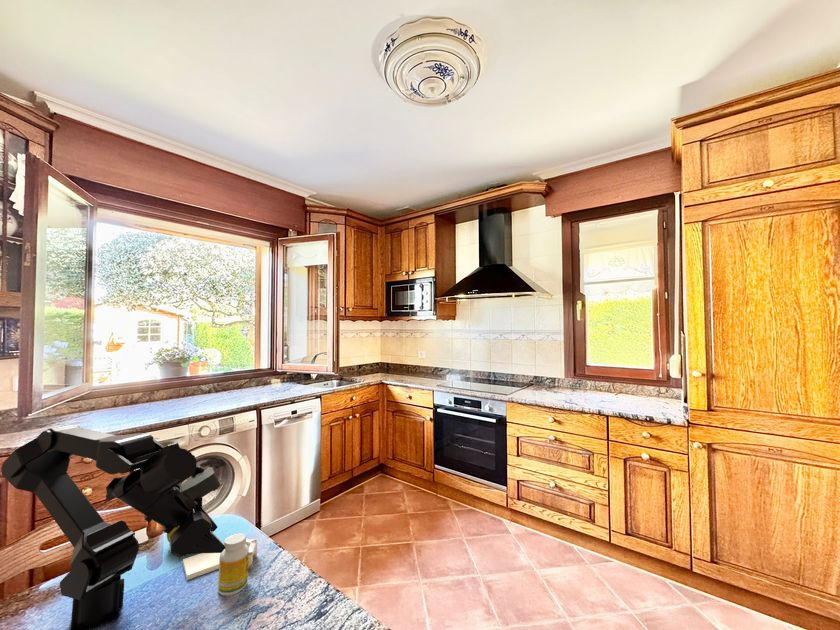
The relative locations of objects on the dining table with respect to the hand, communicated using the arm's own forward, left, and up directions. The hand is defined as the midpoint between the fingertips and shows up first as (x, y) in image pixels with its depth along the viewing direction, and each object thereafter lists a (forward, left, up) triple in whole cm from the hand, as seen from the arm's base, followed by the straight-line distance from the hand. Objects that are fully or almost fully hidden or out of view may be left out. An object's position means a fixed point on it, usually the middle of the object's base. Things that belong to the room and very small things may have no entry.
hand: (219, 538), depth 70 cm
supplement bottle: (+3, 0, -11) cm, 11 cm away
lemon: (-2, +23, -11) cm, 26 cm away
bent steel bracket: (+7, +8, -11) cm, 15 cm away
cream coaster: (-1, +12, -11) cm, 16 cm away
